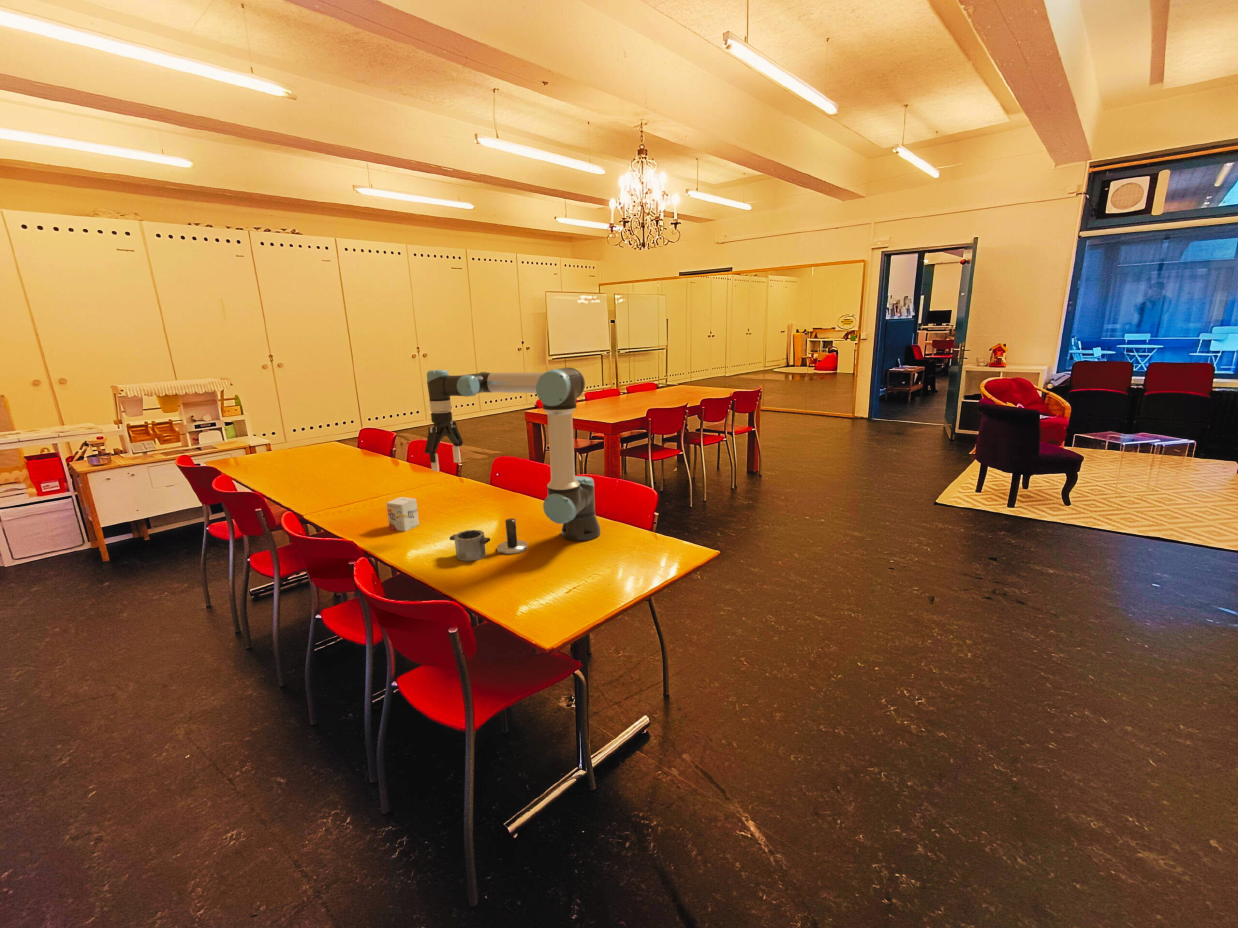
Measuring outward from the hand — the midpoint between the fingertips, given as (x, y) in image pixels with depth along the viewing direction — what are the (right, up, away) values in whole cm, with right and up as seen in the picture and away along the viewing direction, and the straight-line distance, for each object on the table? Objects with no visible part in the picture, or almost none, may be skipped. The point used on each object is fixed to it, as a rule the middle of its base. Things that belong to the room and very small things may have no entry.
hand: (446, 466), depth 207 cm
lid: (+27, -30, -9) cm, 42 cm away
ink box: (-23, -26, +17) cm, 38 cm away
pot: (+14, -32, -15) cm, 38 cm away
